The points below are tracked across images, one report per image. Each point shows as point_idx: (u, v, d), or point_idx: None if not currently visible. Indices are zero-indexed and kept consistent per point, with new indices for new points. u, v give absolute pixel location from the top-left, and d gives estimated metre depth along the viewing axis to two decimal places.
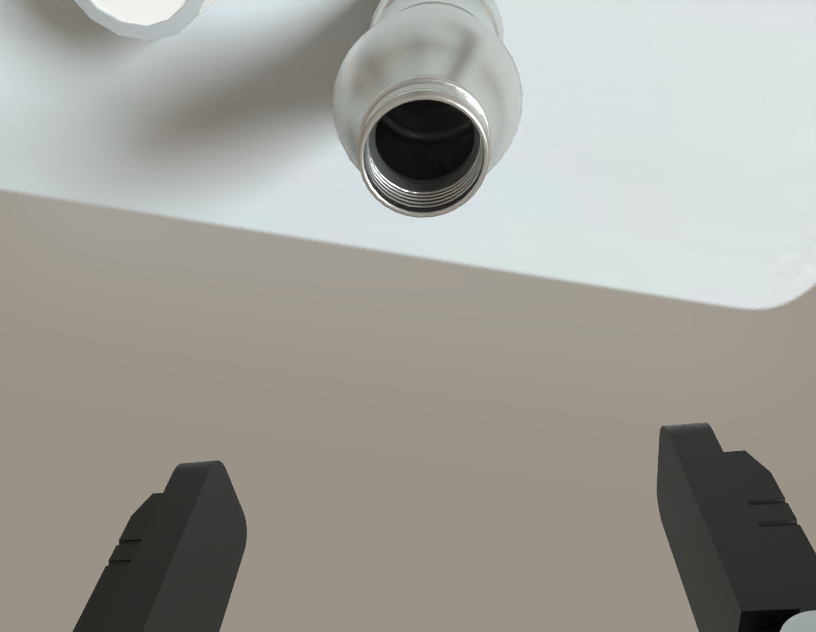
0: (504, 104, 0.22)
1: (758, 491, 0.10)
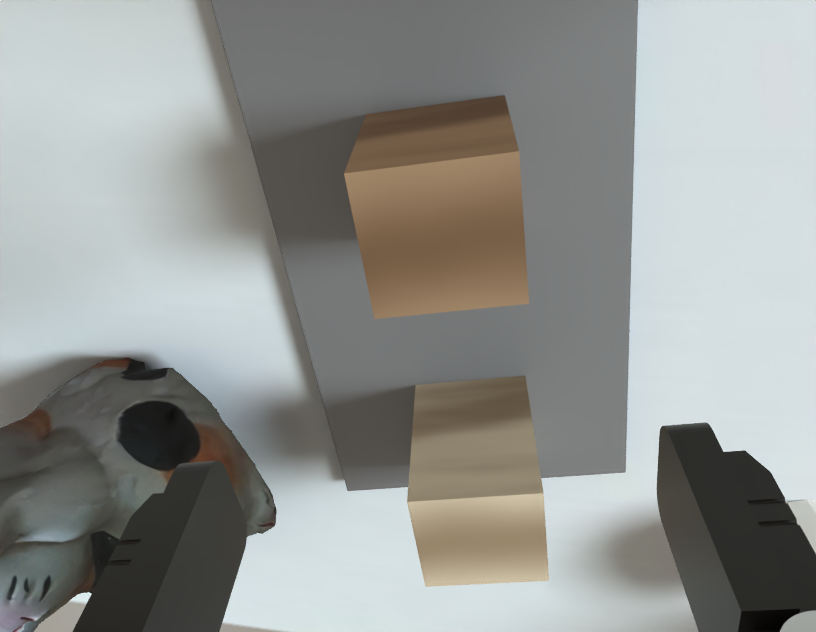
0: None
1: (758, 491, 0.10)
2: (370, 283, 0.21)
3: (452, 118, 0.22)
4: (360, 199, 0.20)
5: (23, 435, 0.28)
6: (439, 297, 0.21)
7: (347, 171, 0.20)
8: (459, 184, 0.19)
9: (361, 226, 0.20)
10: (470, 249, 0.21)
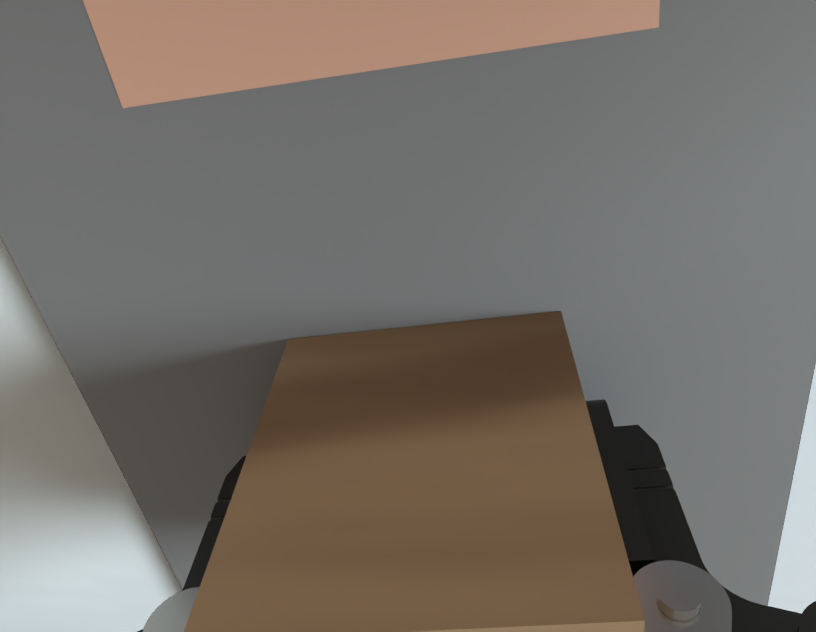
0: None
1: (643, 460, 0.11)
2: None
3: (457, 390, 0.10)
4: None
5: None
6: None
7: (191, 630, 0.08)
8: None
9: None
10: None
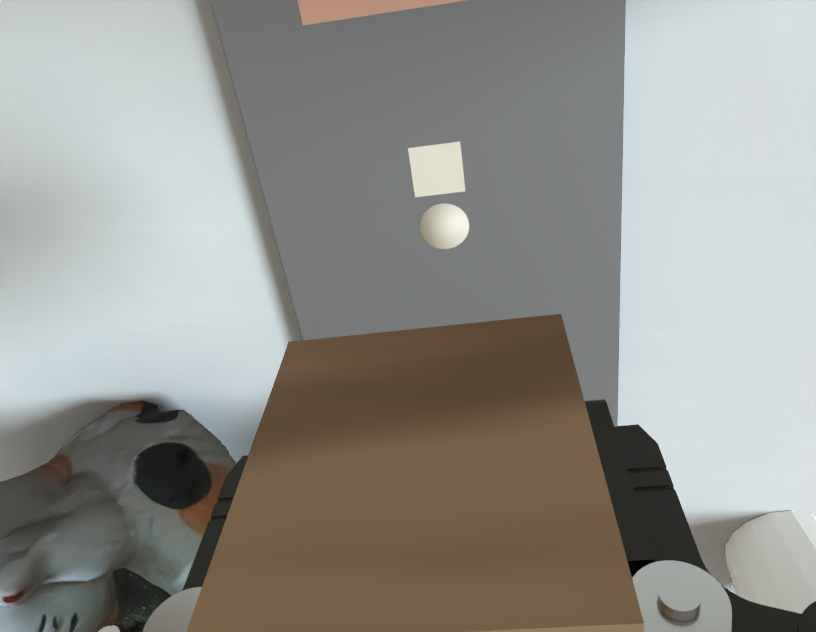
0: None
1: (643, 460, 0.11)
2: None
3: (458, 393, 0.11)
4: None
5: (47, 480, 0.30)
6: None
7: None
8: None
9: None
10: None
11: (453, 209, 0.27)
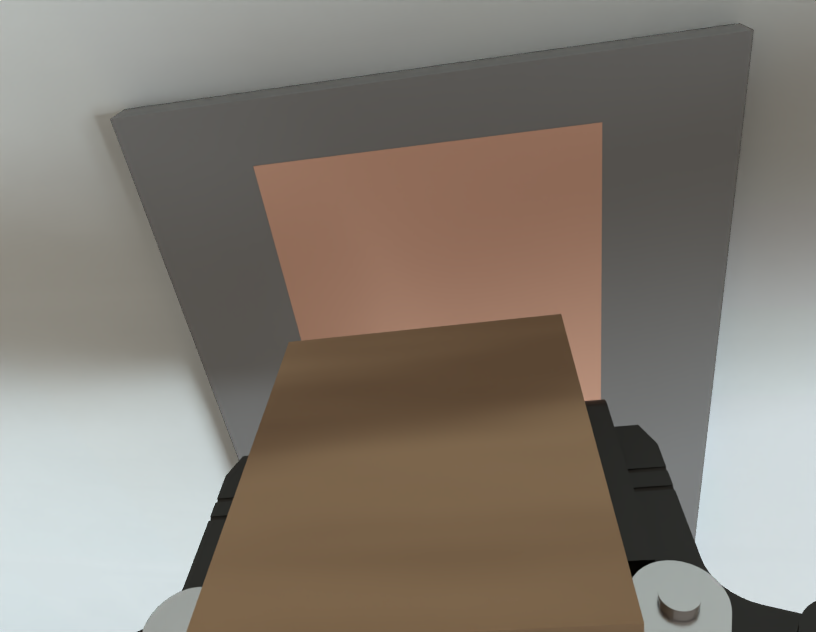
0: None
1: (643, 460, 0.11)
2: None
3: (458, 393, 0.11)
4: None
5: None
6: None
7: None
8: None
9: None
10: None
11: None
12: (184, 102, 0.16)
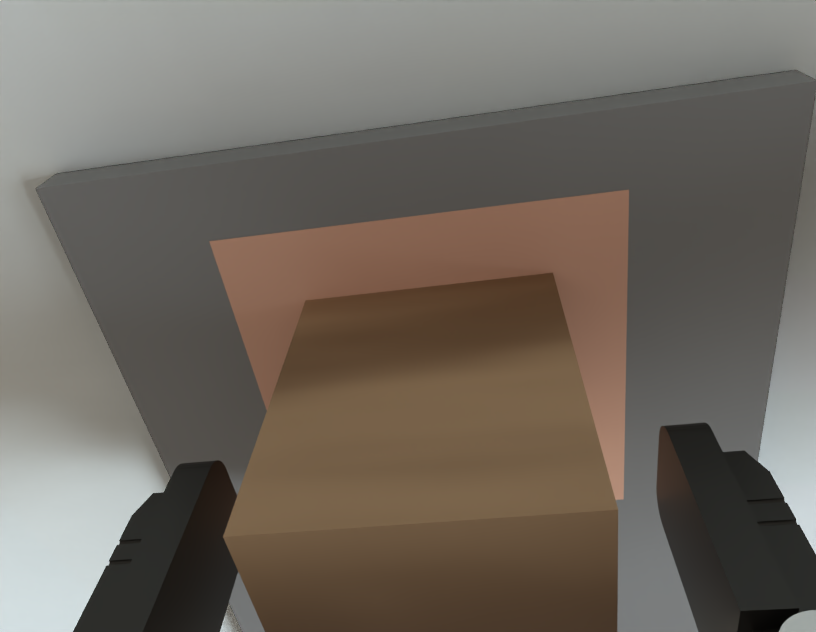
0: None
1: (757, 491, 0.10)
2: None
3: (459, 339, 0.12)
4: (265, 577, 0.09)
5: None
6: None
7: (232, 527, 0.09)
8: (480, 559, 0.09)
9: (271, 617, 0.10)
10: None
11: None
12: (126, 166, 0.13)
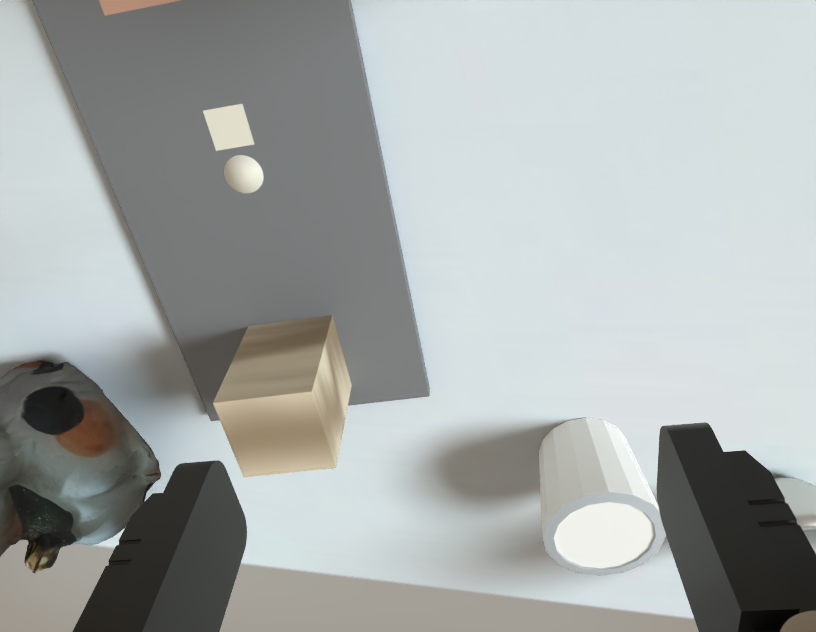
0: None
1: (758, 491, 0.10)
2: None
3: None
4: None
5: None
6: None
7: None
8: None
9: None
10: None
11: (247, 160, 0.34)
12: None
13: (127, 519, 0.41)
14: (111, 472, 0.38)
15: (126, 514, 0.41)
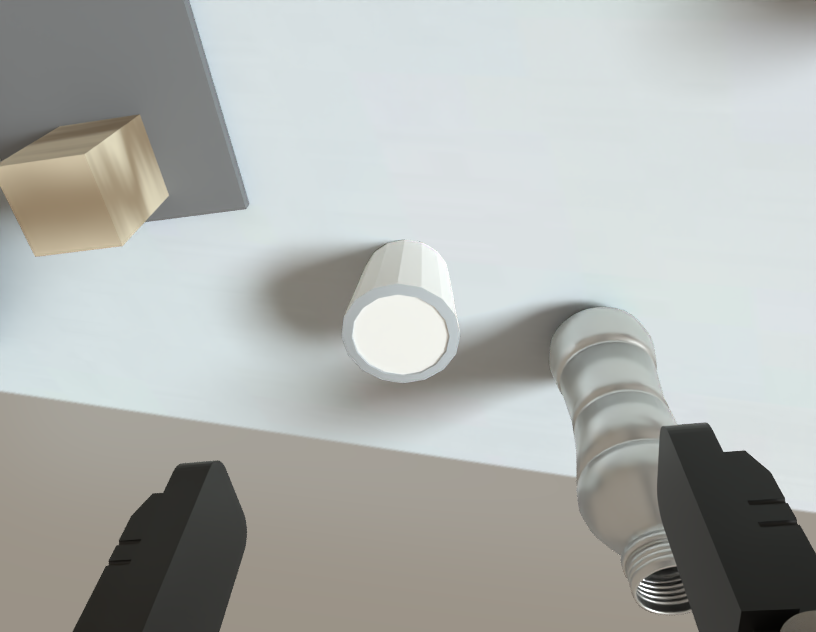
0: None
1: (758, 491, 0.10)
2: None
3: None
4: None
5: None
6: None
7: None
8: None
9: None
10: None
11: None
12: None
13: None
14: None
15: None
